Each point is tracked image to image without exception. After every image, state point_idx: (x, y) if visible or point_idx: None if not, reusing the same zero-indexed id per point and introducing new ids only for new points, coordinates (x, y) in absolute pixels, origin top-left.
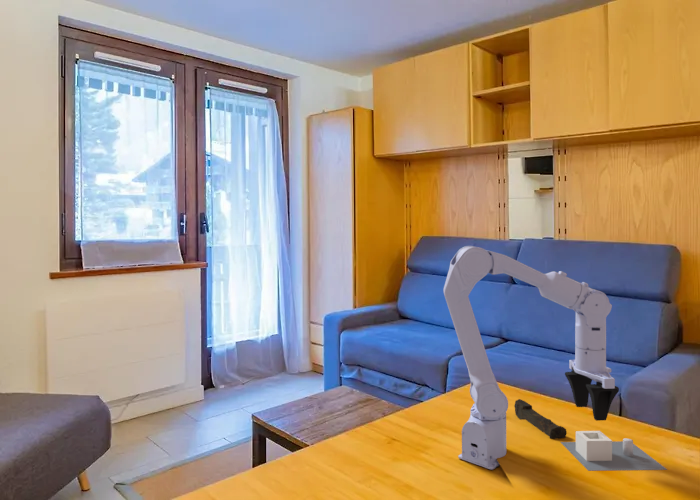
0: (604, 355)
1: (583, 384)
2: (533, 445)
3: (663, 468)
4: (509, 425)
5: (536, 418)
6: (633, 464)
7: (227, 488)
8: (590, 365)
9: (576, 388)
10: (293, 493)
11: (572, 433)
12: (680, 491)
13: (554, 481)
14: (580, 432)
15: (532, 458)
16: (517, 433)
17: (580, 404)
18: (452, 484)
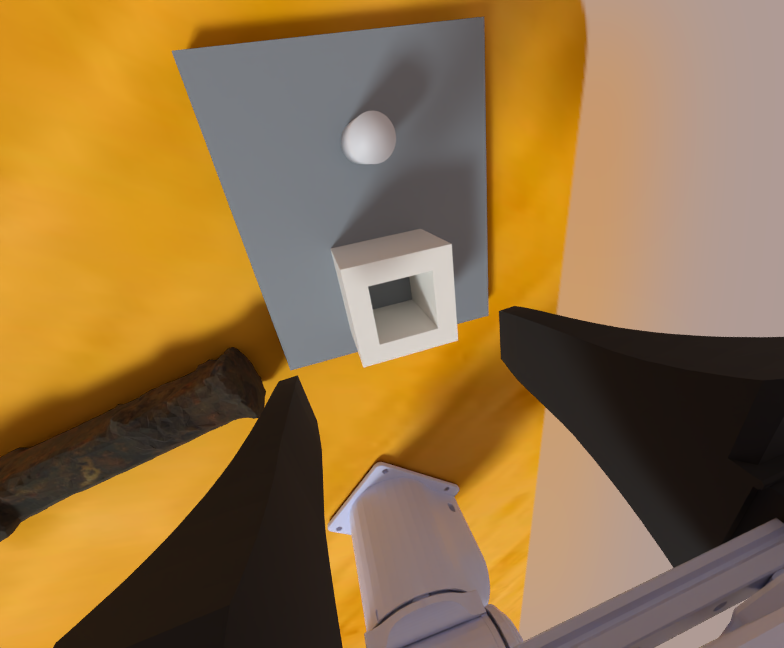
0: None
1: (302, 541)
2: None
3: (475, 31)
4: (127, 499)
5: (130, 467)
6: (446, 156)
7: None
8: None
9: (321, 541)
10: (517, 625)
11: (103, 306)
12: (572, 45)
13: (499, 381)
14: (375, 351)
15: (385, 425)
16: (202, 471)
17: (310, 417)
18: (504, 518)
